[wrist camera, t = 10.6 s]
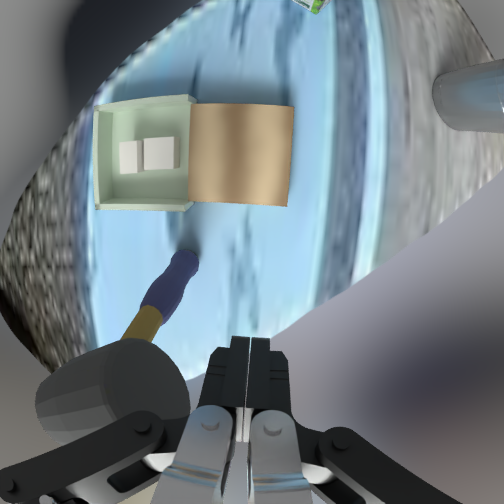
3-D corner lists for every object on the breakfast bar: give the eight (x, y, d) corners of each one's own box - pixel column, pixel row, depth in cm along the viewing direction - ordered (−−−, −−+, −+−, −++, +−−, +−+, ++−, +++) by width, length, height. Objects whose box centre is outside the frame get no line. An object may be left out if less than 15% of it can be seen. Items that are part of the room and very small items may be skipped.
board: (291, 110, 31) (294, 106, 28) (285, 201, 35) (287, 206, 33) (196, 107, 31) (190, 103, 29) (194, 196, 36) (188, 201, 33)
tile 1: (179, 137, 32) (173, 136, 30) (179, 167, 34) (173, 168, 32) (151, 138, 32) (143, 138, 30) (151, 168, 34) (143, 169, 32)
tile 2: (136, 140, 29) (119, 142, 29) (137, 172, 30) (120, 174, 30) (149, 140, 33) (133, 141, 33) (150, 169, 34) (133, 170, 34)
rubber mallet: (207, 214, 37) (76, 392, 9) (238, 258, 39) (188, 474, 11) (142, 258, 40) (14, 411, 12) (172, 297, 42) (84, 468, 14)
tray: (197, 100, 31) (188, 94, 27) (194, 204, 36) (184, 211, 32) (110, 108, 31) (94, 106, 27) (111, 202, 37) (95, 209, 32)
